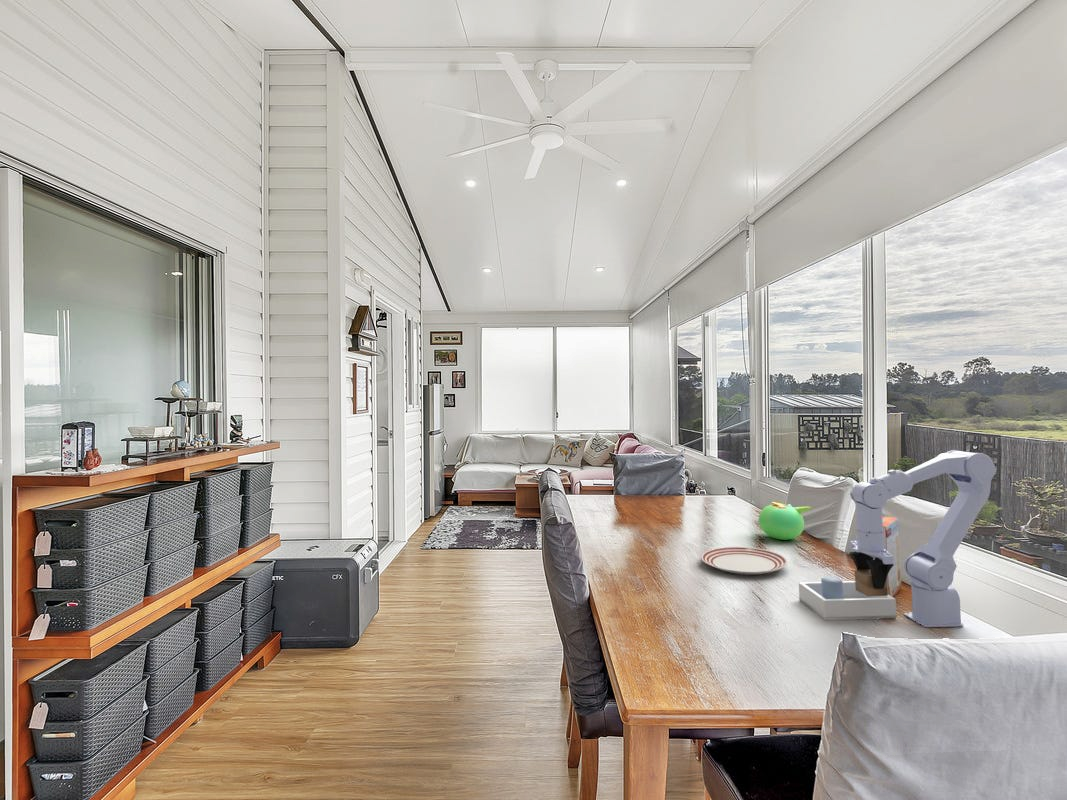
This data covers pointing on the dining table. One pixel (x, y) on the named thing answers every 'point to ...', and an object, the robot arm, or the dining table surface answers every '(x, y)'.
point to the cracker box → (892, 553)
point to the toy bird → (782, 520)
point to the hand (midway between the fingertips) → (871, 584)
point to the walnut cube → (868, 584)
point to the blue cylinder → (832, 588)
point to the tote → (846, 603)
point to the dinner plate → (744, 560)
